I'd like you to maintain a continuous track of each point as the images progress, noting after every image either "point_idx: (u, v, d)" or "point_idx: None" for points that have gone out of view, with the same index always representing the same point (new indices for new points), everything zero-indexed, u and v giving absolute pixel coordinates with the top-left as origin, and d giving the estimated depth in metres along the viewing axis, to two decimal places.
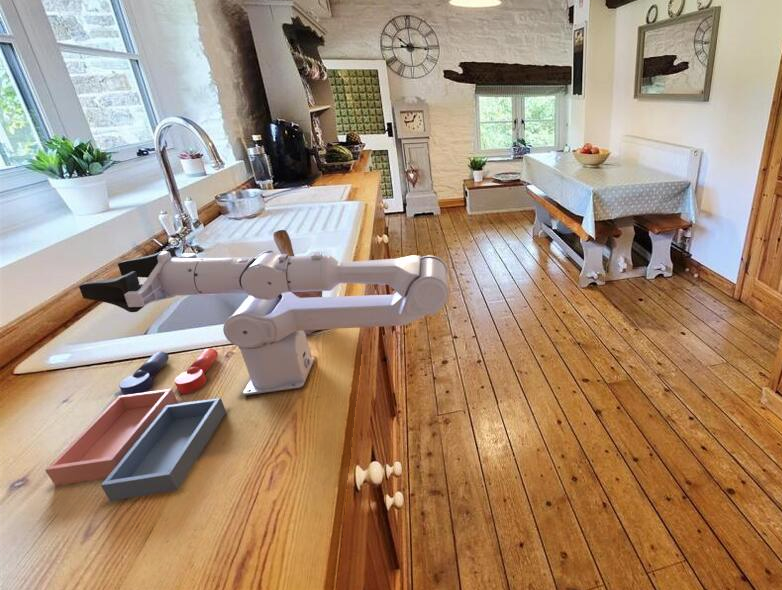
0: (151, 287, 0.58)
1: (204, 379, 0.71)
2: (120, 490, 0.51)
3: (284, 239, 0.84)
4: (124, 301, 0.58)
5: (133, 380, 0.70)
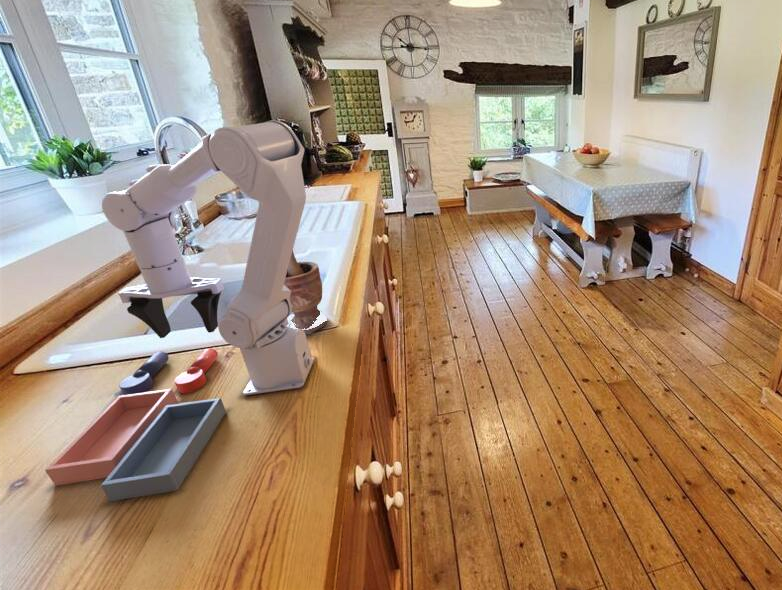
0: (142, 287, 0.68)
1: (204, 379, 0.71)
2: (120, 490, 0.51)
3: None
4: None
5: (133, 380, 0.70)
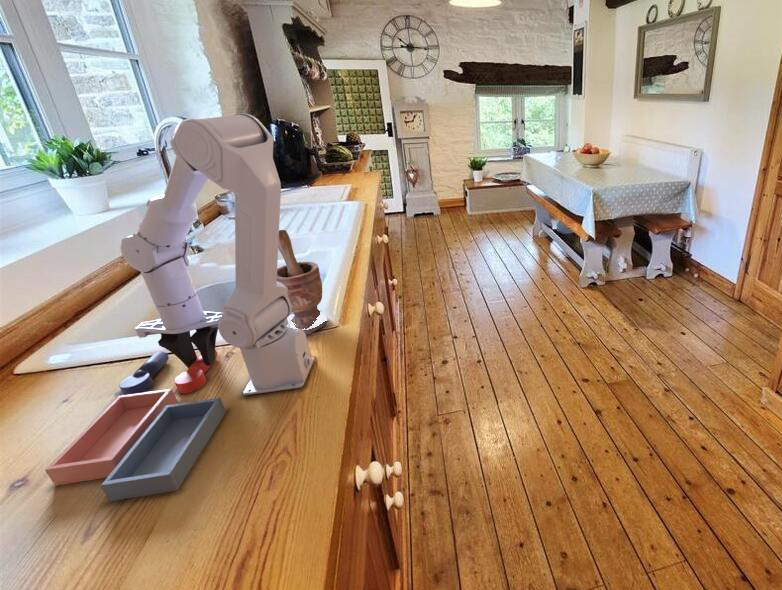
0: (157, 321, 0.71)
1: (204, 379, 0.71)
2: (120, 490, 0.51)
3: (284, 239, 0.84)
4: None
5: (133, 380, 0.70)
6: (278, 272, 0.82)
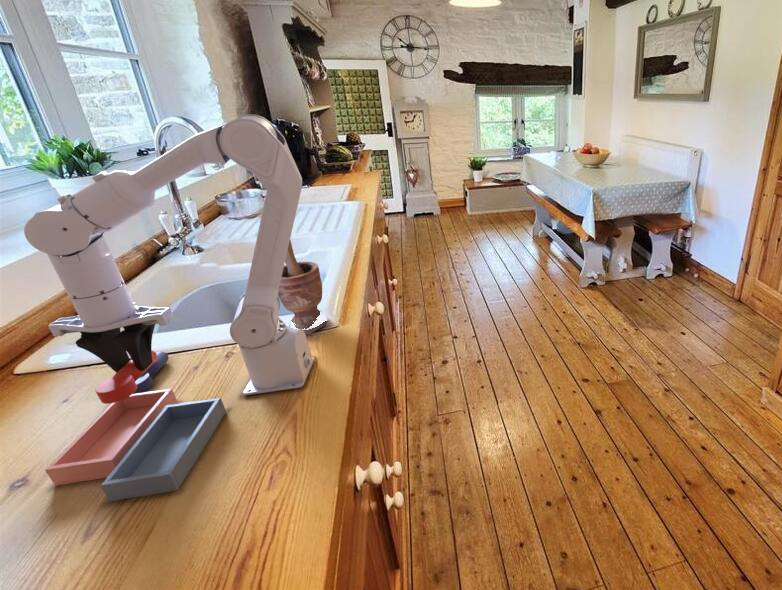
0: (77, 317, 0.59)
1: (134, 387, 0.59)
2: (120, 490, 0.51)
3: None
4: None
5: None
6: None
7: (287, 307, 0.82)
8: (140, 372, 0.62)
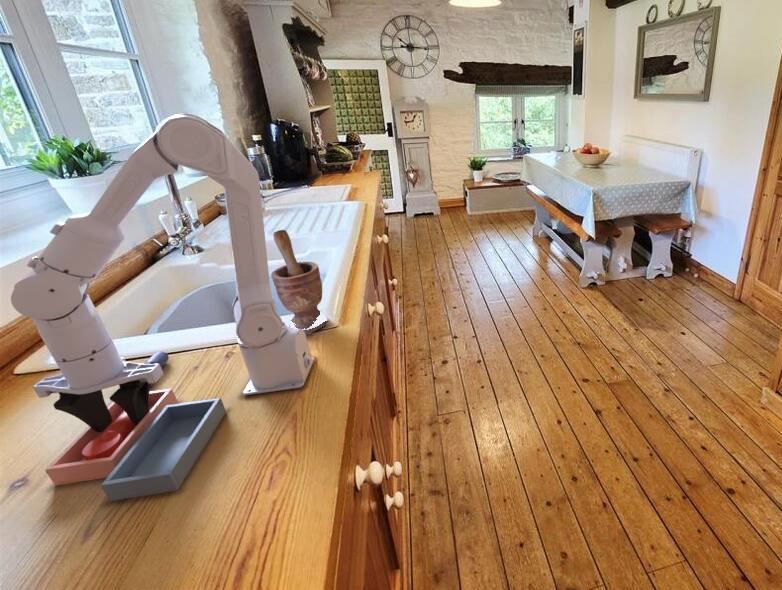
0: (64, 376, 0.57)
1: None
2: (120, 490, 0.51)
3: (284, 239, 0.84)
4: None
5: None
6: (278, 272, 0.82)
7: (287, 307, 0.82)
8: (129, 429, 0.60)
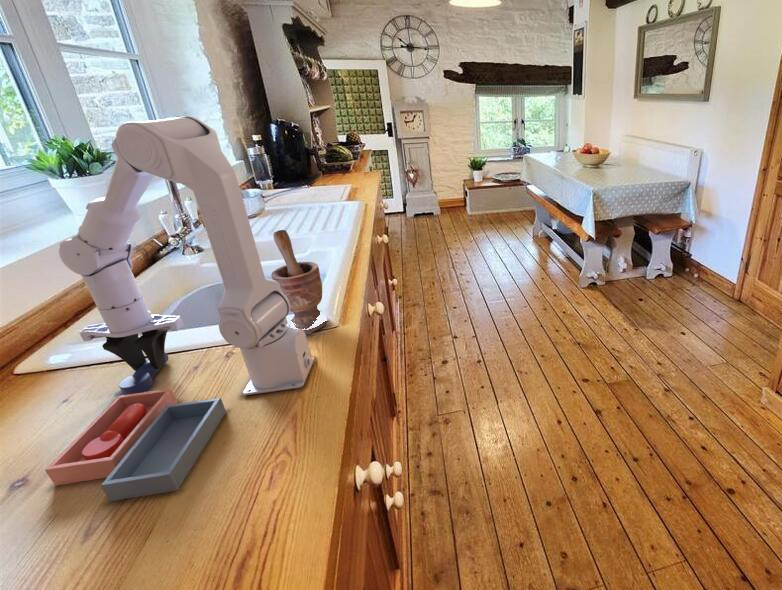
0: (103, 325, 0.70)
1: None
2: (120, 490, 0.51)
3: (284, 239, 0.84)
4: None
5: (133, 380, 0.70)
6: (278, 272, 0.82)
7: None
8: (129, 429, 0.60)
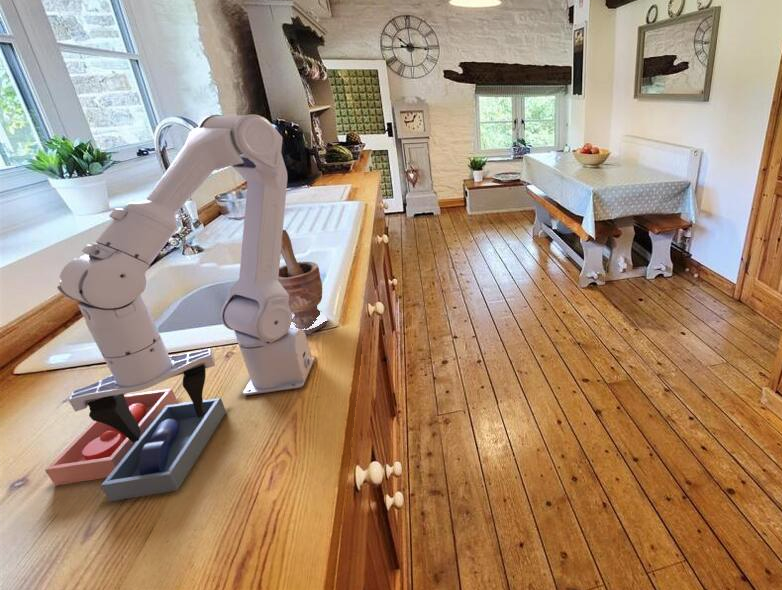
0: (99, 384, 0.52)
1: None
2: (120, 490, 0.51)
3: (284, 239, 0.84)
4: None
5: None
6: None
7: None
8: None
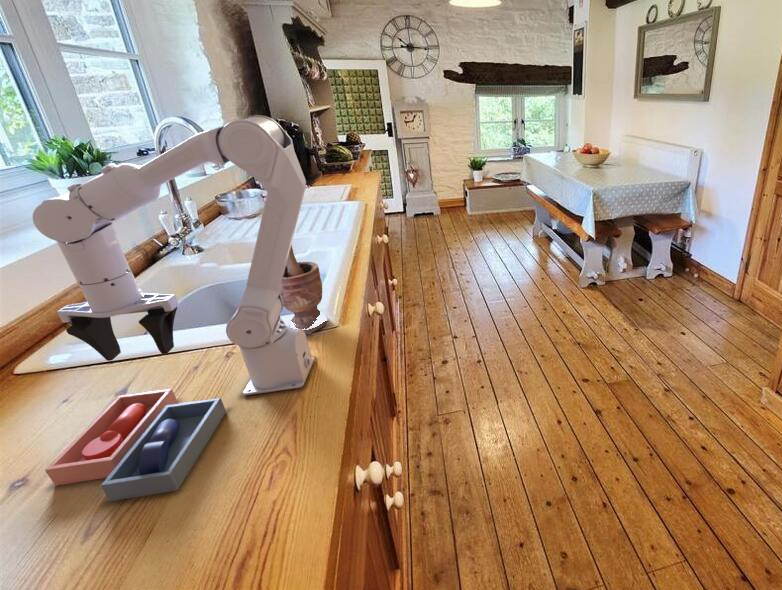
0: (85, 304, 0.61)
1: None
2: (120, 490, 0.51)
3: None
4: None
5: None
6: None
7: (287, 307, 0.82)
8: (129, 429, 0.60)
